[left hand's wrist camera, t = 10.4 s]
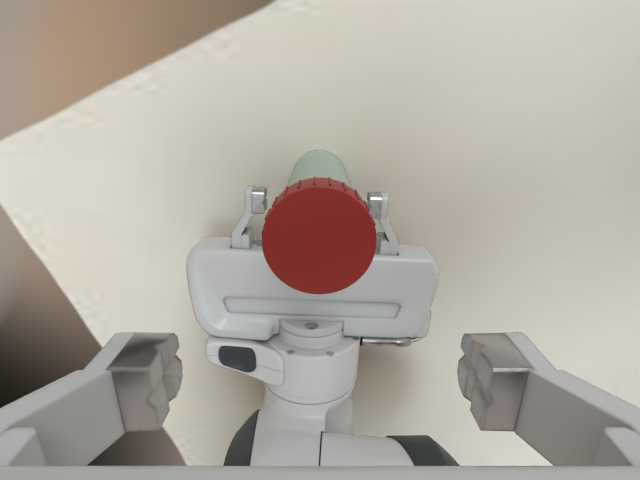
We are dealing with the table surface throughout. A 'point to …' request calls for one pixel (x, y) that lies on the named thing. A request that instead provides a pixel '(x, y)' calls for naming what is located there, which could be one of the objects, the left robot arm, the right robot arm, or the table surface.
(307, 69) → the table surface
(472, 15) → the table surface
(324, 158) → the jar
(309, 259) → the lid
